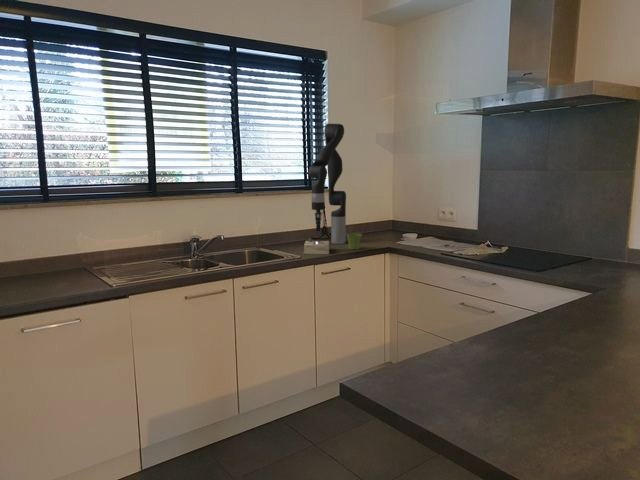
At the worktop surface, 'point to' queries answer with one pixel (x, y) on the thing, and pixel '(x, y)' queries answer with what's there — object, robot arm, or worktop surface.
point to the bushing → (318, 242)
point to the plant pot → (354, 240)
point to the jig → (316, 247)
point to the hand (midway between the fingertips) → (318, 230)
